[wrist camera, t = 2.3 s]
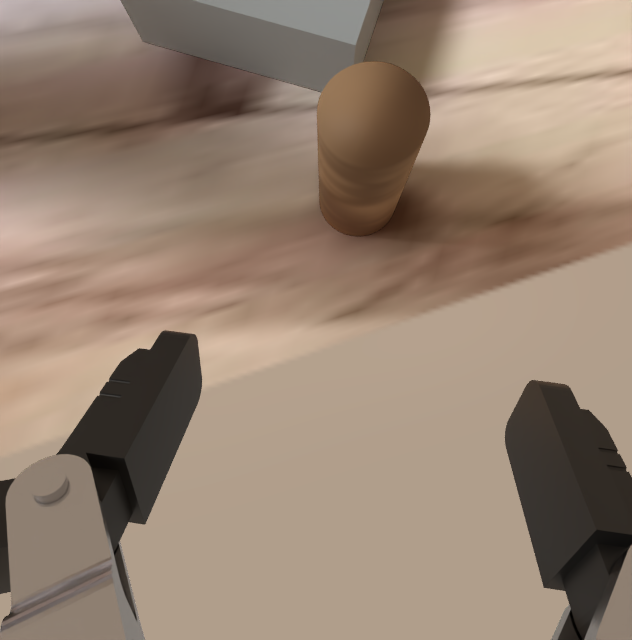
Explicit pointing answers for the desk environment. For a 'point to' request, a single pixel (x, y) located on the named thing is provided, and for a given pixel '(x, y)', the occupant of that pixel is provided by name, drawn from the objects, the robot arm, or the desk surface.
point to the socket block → (263, 34)
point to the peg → (368, 143)
